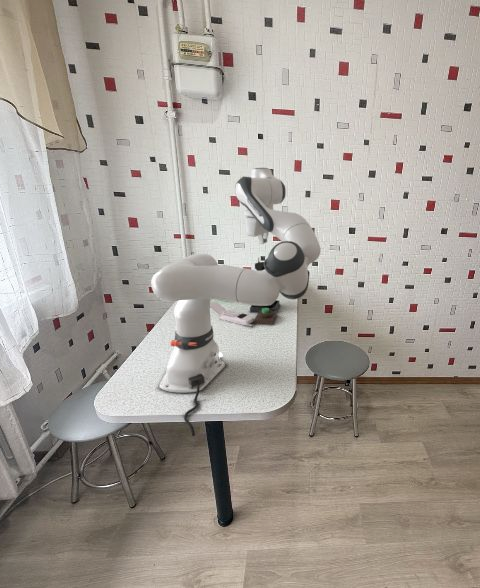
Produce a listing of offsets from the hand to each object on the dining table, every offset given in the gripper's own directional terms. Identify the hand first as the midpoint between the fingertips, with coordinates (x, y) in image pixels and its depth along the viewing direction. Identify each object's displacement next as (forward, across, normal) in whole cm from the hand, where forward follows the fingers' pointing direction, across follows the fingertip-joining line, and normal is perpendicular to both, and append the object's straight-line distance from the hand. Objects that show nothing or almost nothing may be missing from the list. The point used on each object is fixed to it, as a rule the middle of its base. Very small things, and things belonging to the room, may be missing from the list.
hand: (263, 243), depth 140 cm
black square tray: (+36, -11, -6) cm, 38 cm away
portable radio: (+36, -11, -6) cm, 38 cm away
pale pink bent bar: (+36, +6, -14) cm, 39 cm away
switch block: (+36, 0, 0) cm, 36 cm away
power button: (+33, 0, 0) cm, 33 cm away
